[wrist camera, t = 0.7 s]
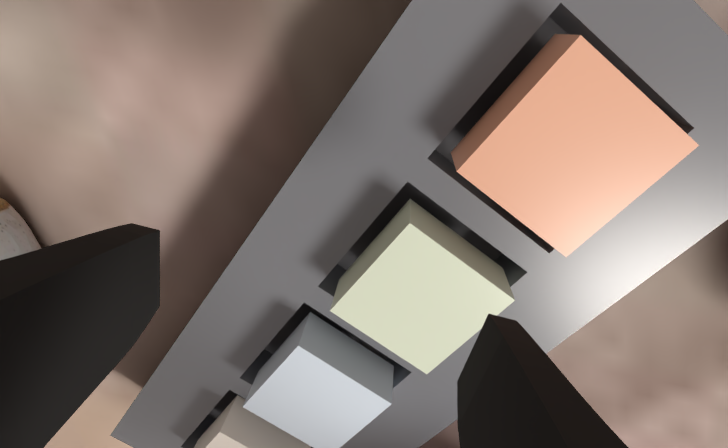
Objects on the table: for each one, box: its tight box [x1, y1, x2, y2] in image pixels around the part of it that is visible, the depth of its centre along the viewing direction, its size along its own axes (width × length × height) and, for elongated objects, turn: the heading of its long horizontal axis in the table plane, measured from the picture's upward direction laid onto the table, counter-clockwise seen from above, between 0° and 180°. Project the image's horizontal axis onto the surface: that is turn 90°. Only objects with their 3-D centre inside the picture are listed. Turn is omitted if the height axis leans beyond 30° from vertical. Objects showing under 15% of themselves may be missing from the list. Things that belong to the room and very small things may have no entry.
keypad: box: [111, 0, 728, 448], centre depth 18 cm, size 12×29×3 cm, turn 144°
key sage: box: [330, 199, 515, 374], centre depth 15 cm, size 4×4×2 cm
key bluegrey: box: [243, 312, 394, 448], centre depth 17 cm, size 4×4×2 cm
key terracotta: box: [451, 34, 699, 257], centre depth 12 cm, size 4×4×2 cm
